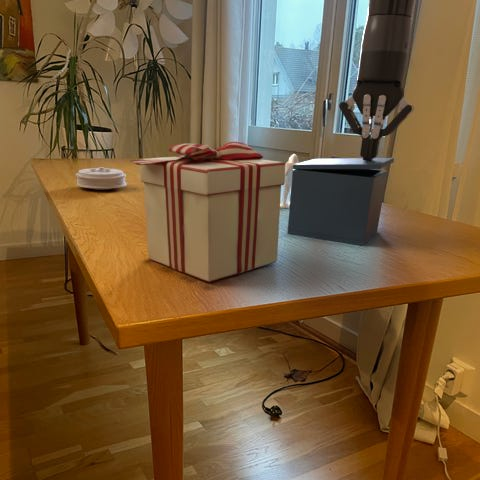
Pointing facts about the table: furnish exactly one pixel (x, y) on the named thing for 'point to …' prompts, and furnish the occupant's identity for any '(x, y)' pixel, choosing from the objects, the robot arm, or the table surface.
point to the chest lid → (344, 163)
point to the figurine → (288, 180)
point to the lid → (101, 178)
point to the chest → (336, 204)
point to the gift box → (212, 209)
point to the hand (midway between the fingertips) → (367, 160)
